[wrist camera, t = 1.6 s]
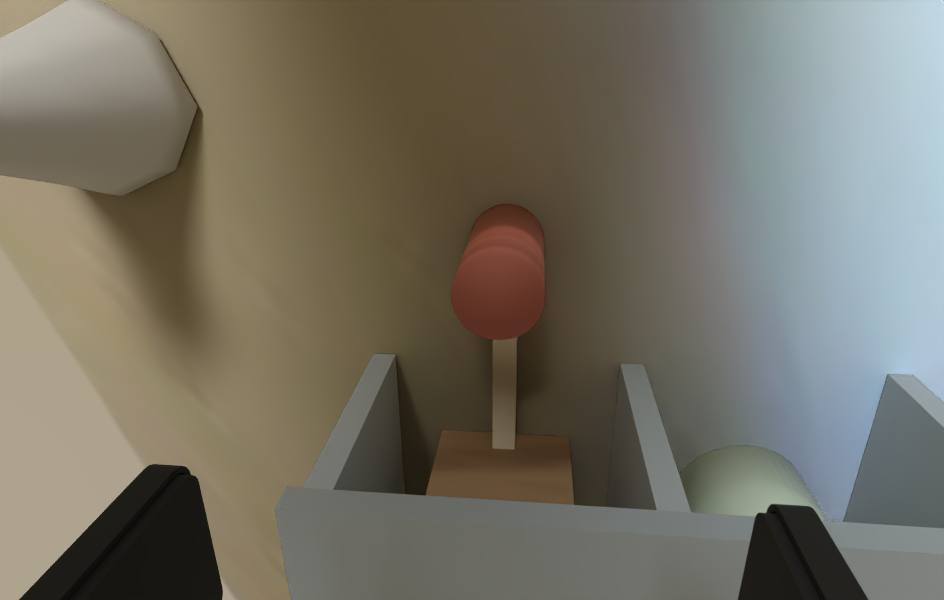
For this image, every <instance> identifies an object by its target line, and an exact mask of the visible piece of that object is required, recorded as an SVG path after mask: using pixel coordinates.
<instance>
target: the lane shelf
mask: <svg viewBox="0 0 944 600" xmlns="http://www.w3.org/2000/svg"><path fill="white" fill-rule="evenodd" d="M275 514H276V519H277V525H278V530H279V536H280V542H281V547H282V553H283V558H284V564H285V569H286V575H287V581H288V586H289V592H290V597H291V600H738V596H739V591H740V586H741V582H742V577H743V572H744V568H745V563H746V558H747V553H748V549H749V544H750V539H751V535H752V530H753V525H754V521H755V517H756V516H740V515H724V514H708V513H693V512H691V510H690V507H689V504H688V501H687V498H686V495H685V491H684V488H683V485H682V482H681V479H680V476H679V473H678V470H677V467H676V463H675V460H674V457H673V454H672V451H671V448H670V445H669V442H668V439H667V435H666V432H665V429H664V426H663V423H662V420H661V417H660V414H659V411H658V407H657V404H656V401H655V398H654V395H653V392H652V389H651V386H650V383H649V379H648V376H647V373H646V370H645V367H644V364H622V363H620V371H619V381H618V392H617V402H616V412H615V422H614V432H613V443H612V453H611V463H610V473H609V484H608V494H607V504H606V507H598V506H582V505H566V504H551V503H535V502H519V501H503V500H488V499H472V498H456V497H440V496H424V495H409V494H405V485H404V470H403V456H402V442H401V427H400V413H399V399H398V384H397V370H396V356H395V354H373V356H372V358H371V360H370V362H369V364H368V365H367V367H366V369H365V371H364V373H363V375H362V377H361V379H360V381H359V382H358V384H357V386H356V388H355V390H354V392H353V394H352V396H351V397H350V399H349V401H348V403H347V405H346V407H345V409H344V411H343V412H342V414H341V416H340V418H339V420H338V422H337V424H336V426H335V428H334V429H333V431H332V433H331V435H330V437H329V439H328V441H327V443H326V444H325V446H324V448H323V450H322V452H321V454H320V456H319V458H318V459H317V461H316V463H315V465H314V467H313V469H312V471H311V473H310V474H309V476H308V478H307V480H306V482H305V484H304V486H303V488H298V487H287V488H286V490H285V492H284V493H283V495H282V497H281V499H280V501H279V502H278V504H277V506H276V508H275ZM822 523H823V524H824V526H825V528H826V529H827V531H828V533H829V534H830V536H831V538H832V539H833V541H834V543H835V544H836V546H837V548H838V549H839V551H840V553H841V554H842V556H843V558H844V559H845V561H846V563H847V564H848V566H849V568H850V570H851V571H852V573H853V575H854V576H855V578H856V580H857V581H858V583H859V585H860V586H861V588H862V590H863V591H864V593H865V595H866V596H867V598H868V600H944V402H943V401H942V400H941V399H940V398H939V397H937V396H936V395H935V394H934V393H933V392H932V391H931V390H930V389H928V388H927V387H926V386H925V385H924V384H923V383H922V382H921V381H920V380H918V379H917V378H916V377H915V376H914V375H897V374H888V376H887V379H886V383H885V386H884V389H883V393H882V396H881V399H880V403H879V406H878V409H877V413H876V416H875V419H874V423H873V426H872V429H871V433H870V436H869V439H868V443H867V446H866V449H865V453H864V456H863V459H862V463H861V466H860V469H859V473H858V476H857V479H856V483H855V486H854V489H853V493H852V496H851V499H850V503H849V506H848V509H847V513H846V516H845V519H844V522H834V521H822Z"/></svg>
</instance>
